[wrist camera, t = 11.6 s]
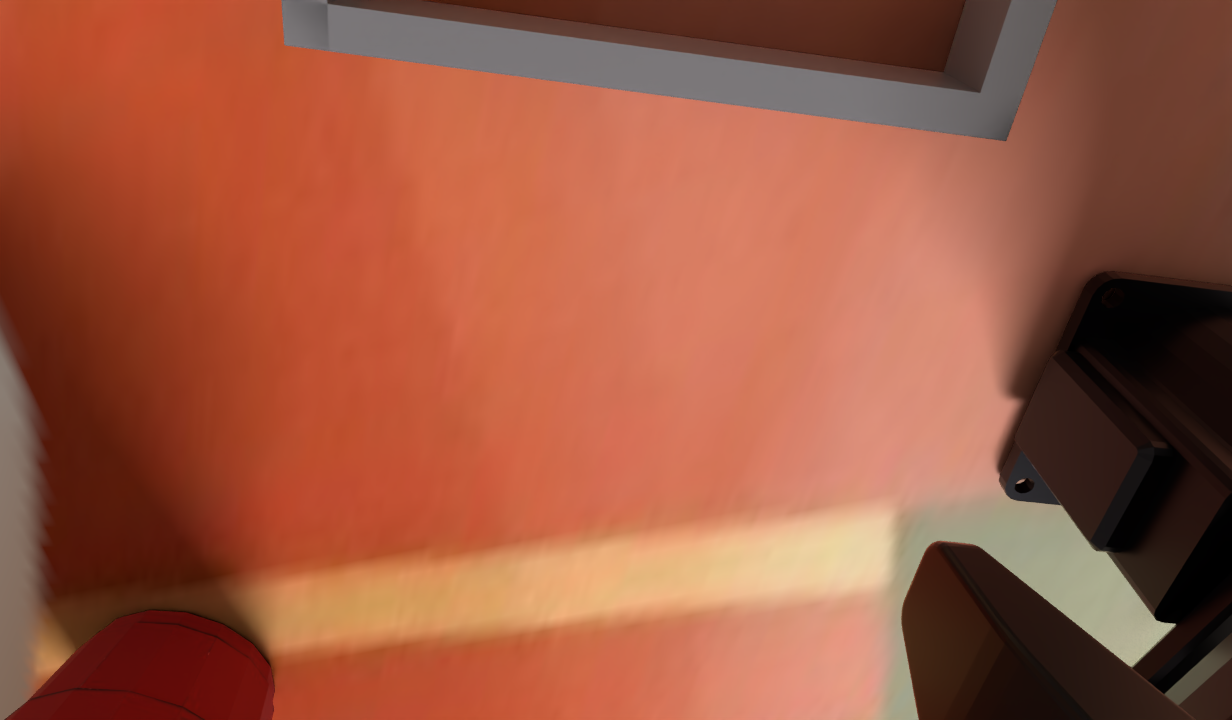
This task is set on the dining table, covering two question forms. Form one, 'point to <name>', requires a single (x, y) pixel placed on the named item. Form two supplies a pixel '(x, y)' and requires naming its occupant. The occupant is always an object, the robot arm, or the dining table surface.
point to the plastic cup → (158, 674)
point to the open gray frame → (702, 60)
